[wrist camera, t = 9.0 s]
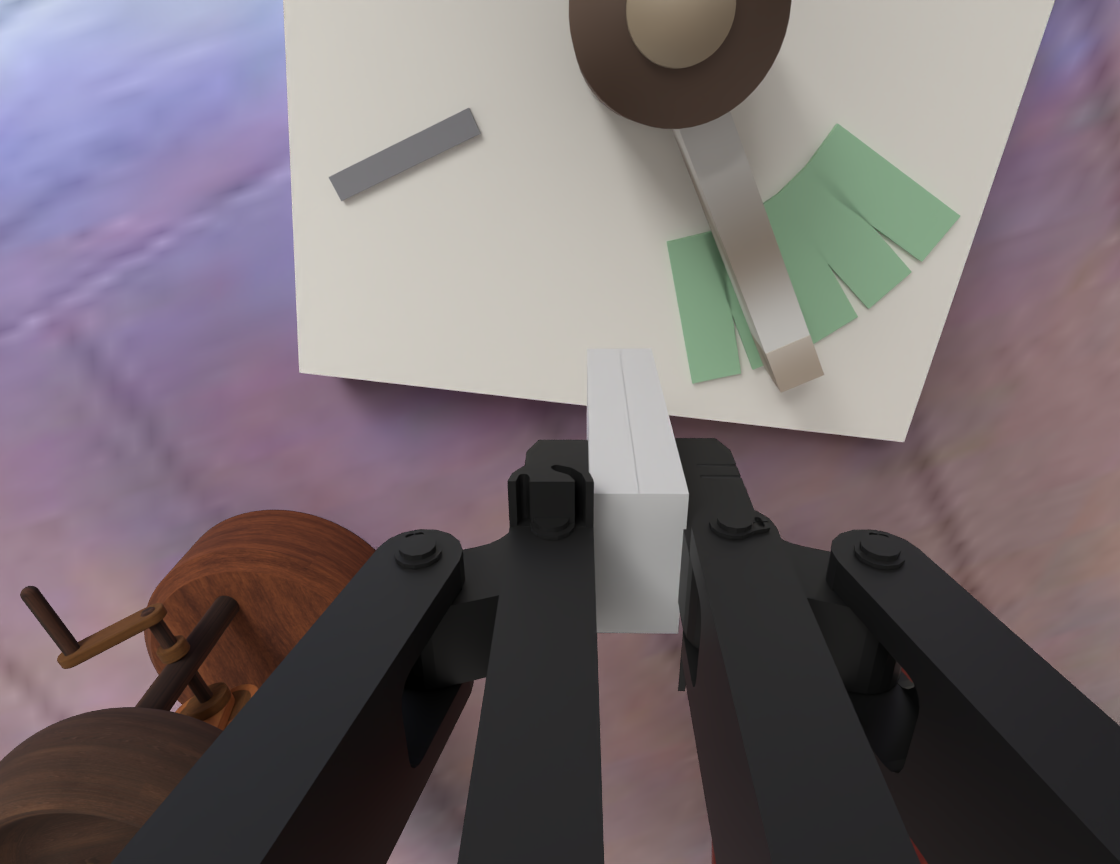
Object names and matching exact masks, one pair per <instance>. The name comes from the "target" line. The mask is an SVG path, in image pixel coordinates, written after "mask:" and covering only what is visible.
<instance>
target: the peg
mask: <svg viewBox="0 0 1120 864" xmlns="http://www.w3.org/2000/svg"><path fill="white" fill-rule="evenodd" d="M790 9H791V0H569V25H570V34H571V38H572V43H573V47H574V51H575V55H576V59H577V63H578V65H579V68H580V71H581V73H582V75H583V77H584V79H585V81H586V83H587V85H588V86H589V88H590V89H591V91H592V92H593V94H594V95H595V96H596V97H597V98H598V99H599V100H600V101H601V102H602V103H603V104H604V105H605V106H606V107H607V108H609V109H610V110H612V111H613V112H615V113H616V114H618V115H620V116H622V117H624V118H626V119H629V120H632V121H634V122H637V123H640V124H643V125H647V126H650V127H655V128H662V129H672V131H673V134H674V137H675V139H676V142H677V144H678V147H679V149H680V152H681V155H682V157H683V160H684V162H685V165H686V167H687V170H688V173H689V175H690V178H691V180H692V183H693V185H694V188H695V191H696V193H697V196H698V198H699V201H700V203H701V206H702V209H703V211H704V214H705V216H706V219H707V221H708V224H709V227H710V229H711V232H712V234H713V237H714V239H715V242H716V245H717V247H718V250H719V252H720V255H721V257H722V260H723V263H724V265H725V268H726V270H727V273H728V275H729V278H730V280H731V283H732V286H733V288H734V291H735V293H736V296H737V298H738V301H739V304H740V306H741V309H742V311H743V314H744V316H745V319H746V322H747V324H748V327H749V329H750V332H751V335H752V337H753V340H754V343H755V345H756V348H757V350H758V353H759V355H760V358H761V360H762V363H763V366H764V368H765V370H766V371H767V373H768V374H769V376H770V377H771V379H772V380H773V382H774V383H775V385H776V386H777V388H778V389H779V391H780V392H781V393H782V392H784V391H786V390H789V389H791V388H794V387H796V386H799V385H801V384H804V383H806V382H808V381H811V380H813V379H816V378H818V377H821V376H823V375H824V372H823V370H822V367H821V364H820V361H819V358H818V356H817V353H816V350H815V347H814V344H813V342H812V339H811V336H810V334H809V331H808V328H807V325H806V323H805V320H804V317H803V314H802V311H801V309H800V306H799V303H798V300H797V297H796V295H795V292H794V289H793V286H792V283H791V281H790V278H789V275H788V272H787V269H786V267H785V264H784V261H783V258H782V255H781V252H780V250H779V247H778V244H777V241H776V238H775V236H774V233H773V230H772V227H771V224H770V222H769V219H768V216H767V213H766V210H765V208H764V205H763V202H762V199H761V196H760V194H759V191H758V188H757V185H756V182H755V180H754V177H753V174H752V171H751V168H750V165H749V163H748V160H747V157H746V154H745V151H744V149H743V146H742V143H741V140H740V137H739V135H738V132H737V129H736V126H735V123H734V121H733V118H732V115H731V112H730V111H731V110H733V109H734V108H735V107H736V106H738V105H739V104H740V103H742V102H743V101H744V100H745V99H746V98H747V97H748V96H749V95H750V94H751V93H752V92H753V91H754V90H755V89H756V88H757V87H758V85H759V84H760V83H761V82H762V80H763V79H764V78H765V76H766V75H767V73H768V72H769V70H770V68H771V67H772V65H773V63H774V61H775V59H776V57H777V55H778V53H779V51H780V49H781V46H782V43H783V40H784V37H785V35H786V31H787V26H788V22H789V18H790Z"/></svg>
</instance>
